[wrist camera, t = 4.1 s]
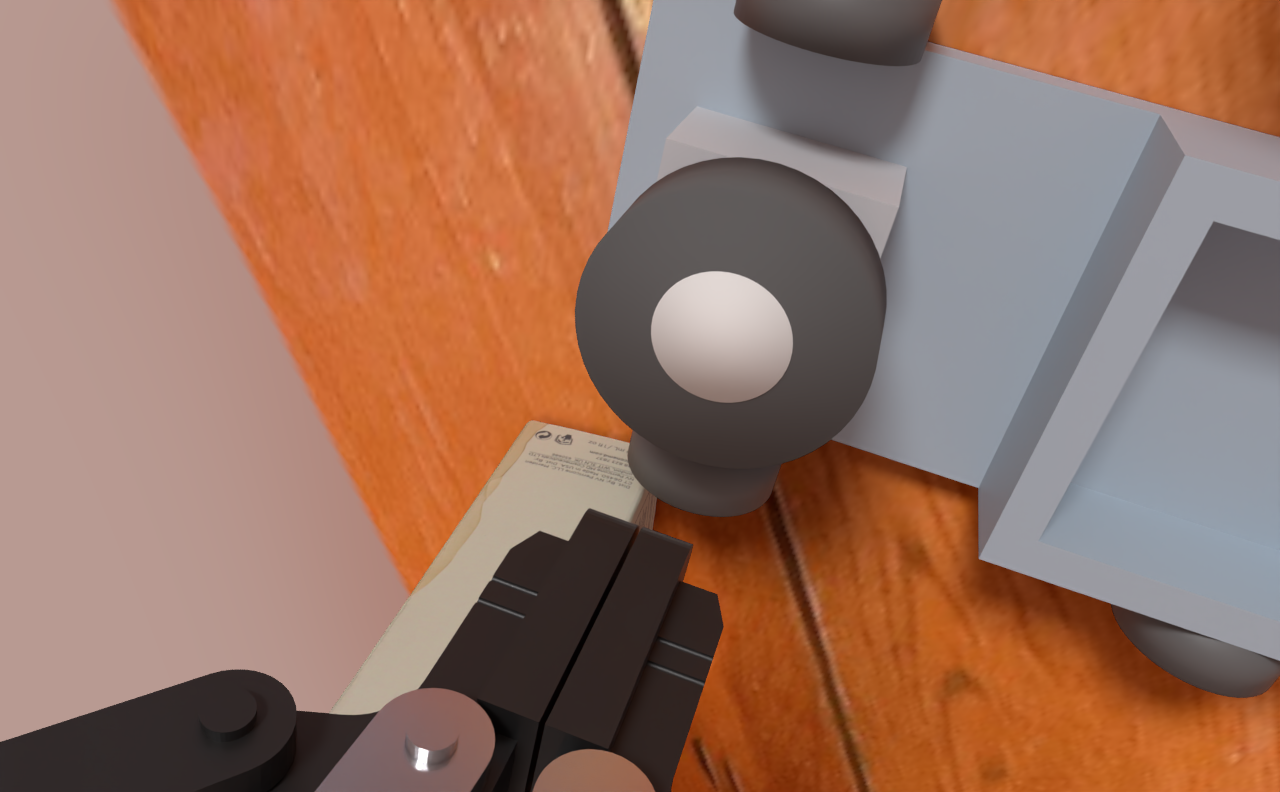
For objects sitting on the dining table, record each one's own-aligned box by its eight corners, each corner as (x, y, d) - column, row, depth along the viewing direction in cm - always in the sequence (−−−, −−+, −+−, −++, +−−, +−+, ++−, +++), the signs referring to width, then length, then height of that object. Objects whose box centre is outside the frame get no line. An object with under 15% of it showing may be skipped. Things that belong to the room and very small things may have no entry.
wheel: (930, 207, 19) (925, 245, 18) (835, 454, 23) (823, 508, 21) (635, 120, 20) (603, 149, 18) (584, 371, 23) (553, 416, 22)
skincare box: (529, 413, 31) (307, 711, 20) (671, 448, 30) (513, 778, 20) (520, 571, 34) (325, 896, 24) (648, 607, 33) (502, 960, 23)
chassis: (1653, 154, 20) (1790, 223, 16) (1292, 621, 27) (1337, 736, 23) (683, -100, 22) (632, -85, 19) (585, 385, 29) (535, 459, 26)
